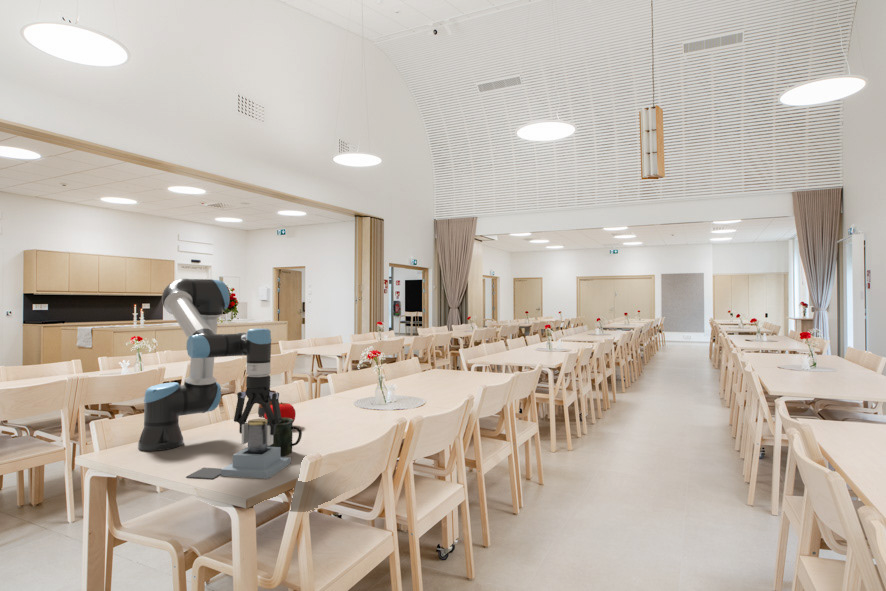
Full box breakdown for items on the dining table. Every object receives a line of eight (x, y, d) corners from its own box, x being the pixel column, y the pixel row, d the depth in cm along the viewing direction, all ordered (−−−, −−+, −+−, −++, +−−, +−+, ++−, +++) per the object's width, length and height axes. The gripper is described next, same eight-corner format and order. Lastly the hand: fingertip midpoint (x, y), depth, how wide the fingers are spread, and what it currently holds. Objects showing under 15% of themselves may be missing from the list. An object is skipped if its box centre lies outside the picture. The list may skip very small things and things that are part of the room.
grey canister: (243, 465, 166) (244, 422, 167) (253, 459, 172) (253, 418, 173) (261, 466, 166) (261, 423, 166) (270, 460, 172) (270, 419, 172)
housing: (220, 475, 162) (221, 456, 162) (247, 460, 178) (247, 443, 178) (268, 478, 160) (268, 459, 160) (290, 463, 176) (290, 445, 176)
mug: (269, 448, 193) (269, 417, 193) (306, 450, 191) (306, 418, 192) (255, 457, 182) (256, 423, 182) (295, 458, 181) (295, 424, 181)
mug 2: (283, 412, 257) (283, 389, 257) (270, 417, 245) (270, 393, 246) (268, 411, 259) (268, 388, 259) (254, 416, 247) (254, 392, 248)
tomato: (288, 431, 220) (288, 405, 220) (259, 429, 222) (260, 404, 222) (300, 424, 232) (300, 400, 232) (273, 423, 234) (273, 399, 234)
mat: (186, 477, 160) (186, 476, 160) (203, 468, 169) (203, 467, 169) (212, 479, 159) (212, 478, 159) (228, 470, 168) (228, 469, 168)
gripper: (222, 375, 167) (221, 445, 167) (283, 377, 164) (282, 448, 164) (235, 372, 175) (233, 439, 174) (293, 374, 172) (292, 442, 171)
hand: (257, 443), depth 169 cm, fingers open, 8 cm apart
